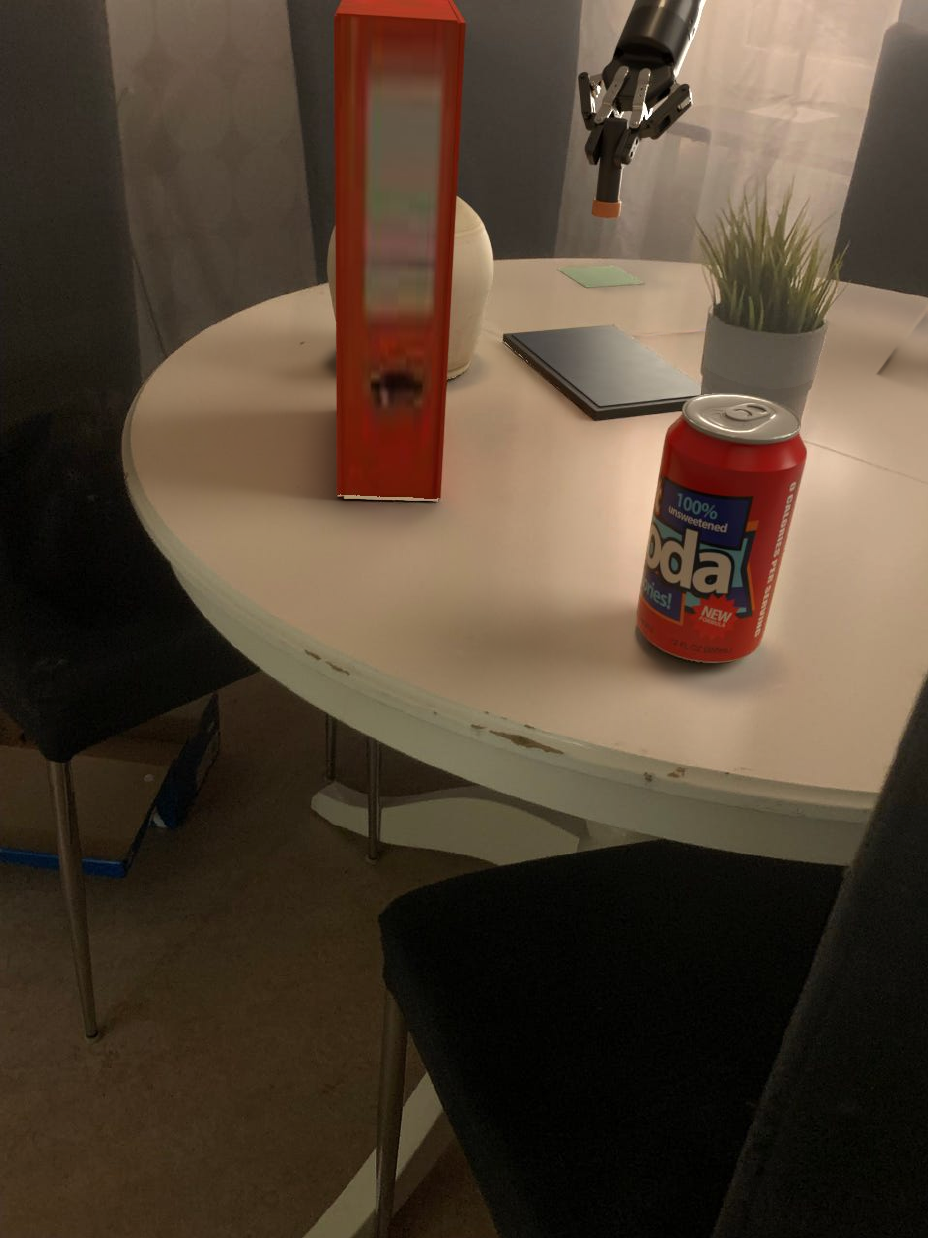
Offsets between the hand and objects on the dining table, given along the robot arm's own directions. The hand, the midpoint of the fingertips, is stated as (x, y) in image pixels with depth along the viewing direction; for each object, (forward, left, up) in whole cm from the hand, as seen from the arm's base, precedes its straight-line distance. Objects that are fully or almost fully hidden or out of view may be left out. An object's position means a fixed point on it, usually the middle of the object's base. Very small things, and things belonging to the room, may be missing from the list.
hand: (604, 161), depth 118 cm
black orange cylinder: (-2, -1, -6) cm, 6 cm away
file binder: (+36, +34, -15) cm, 52 cm away
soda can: (+26, +65, -15) cm, 72 cm away
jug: (+28, +15, -15) cm, 35 cm away
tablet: (+10, +22, -15) cm, 29 cm away
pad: (-4, -6, -15) cm, 16 cm away
